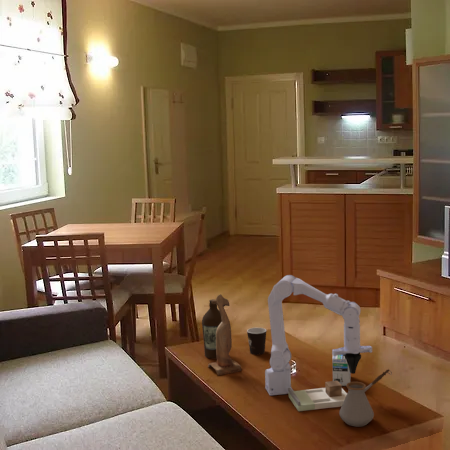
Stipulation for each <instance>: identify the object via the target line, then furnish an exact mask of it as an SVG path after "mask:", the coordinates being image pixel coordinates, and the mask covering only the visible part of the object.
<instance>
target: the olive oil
mask: <svg viewBox="0 0 450 450" xmlns="http://www.w3.org/2000/svg"><path fill="white" fill-rule="evenodd" d="M208 305H209V308H208V310H207V311H206V312H205V314H203V316H202V319H201V325H202V326H201V327H202V329H201V330H202V335H203V337H202V338H203V348H204V351H203V352H204V356H205V358H208V359H210V360H211V359H212V360H215V359H216V360H217V355H216V354H217V353H216V331H217V328H218V326H219V325H220V323H221V322H222V318H221V314H220V311H219V308H218V305H217V303H216V298H215V299H209V303H208Z"/></svg>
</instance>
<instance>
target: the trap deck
mask: <svg viewBox="0 0 450 450" xmlns="http://www.w3.org/2000/svg"><path fill="white" fill-rule="evenodd" d="M291 388H292V387H291ZM291 388H288V393H289V394H288V398H289V400H290V401H291V403H292V404H293V405H294V408H296V410H297V411H298V412H303V411H313V410H320V409H328V408H329V409H330V408H341V407H342V405H343V402H344V400H345V398H346V395H347V393H348V392H346V391H345V390H344V388H342V396H336V397H329V396H328V395H327V393H326V388H325V387H319V388H311V389H309V388H308V389H300V390H293V391H292V389H293V388H292V389H291Z"/></svg>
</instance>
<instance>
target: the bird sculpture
mask: <svg viewBox="0 0 450 450" xmlns="http://www.w3.org/2000/svg"><path fill="white" fill-rule="evenodd" d="M215 300H216V303H217V309H218V310H219V311H220V314H221V318H222V322H221V323H220V325H219V326H218V328H217V331H216V353H217V354H216V355H217V359H216V361H215V362H209V363H208V364H207V368H213V369H214V370H215V372H216V374H217V376H221V375H222V376H223V375H228V374H232V373H233V374H234V373H238V372H241V371H242V365H241V364H239V363H238V362H237V361H235V360H234V359H233V358H231V356H230V354H229V353H230V352H231V350H232V348H233V347H232V345H233V343H232V342H233V341H232V339H233V338H232V326H231V322H230V319H229V317H228V314H227V312H226V309H225V307H230V301H229V300H228V299H227V298H225V297H224V296H223V295H222V294H218V295H217V296H216V298H215Z"/></svg>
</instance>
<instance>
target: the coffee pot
mask: <svg viewBox="0 0 450 450" xmlns="http://www.w3.org/2000/svg"><path fill="white" fill-rule="evenodd" d="M386 374H389V375H393V374H392V371H391V370H390V369H389V368H388V369H386V370H385V371H383V372H382V373H381V374H380V375H378V376H377V377H376V378H375V379H374V380H372V382H371V383H369V384H368V385H366V384H365V383H363V382H361V381H350V383H348V384H347V385H346V386H345V387H346V388H347V390H348V392H346V393H347V395H346V398H345V400H344V402H343V405H342V406H340V409H339V411H338V413H339V417H340V419H341V420H342V421H343V422H345V424H347V425H348V426H350V427H351V426H352V427H357V428H358V427H365V426H366V425H367V424H369V423H370V422H371V421H372V420H373V419H374V416H375V413H374V410H373V408H372V406H371V404H370V402H369V399H368V398H367V395H366V392H367V391H368V390H369V389H370V388H371V387H372V386H373V385H375V384H376V383H378V382H379V381H380V380H382V379H383V377H384V376H386Z"/></svg>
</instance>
